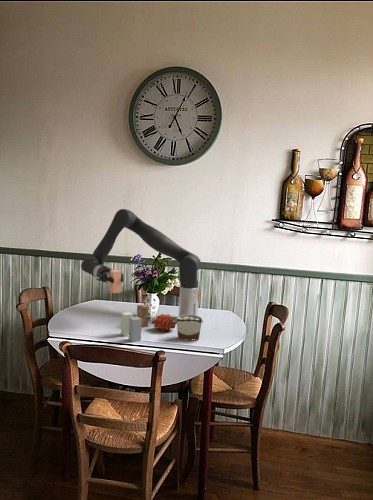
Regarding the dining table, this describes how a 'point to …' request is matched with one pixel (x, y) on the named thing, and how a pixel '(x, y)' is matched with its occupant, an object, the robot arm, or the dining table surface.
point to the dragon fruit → (164, 322)
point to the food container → (188, 326)
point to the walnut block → (143, 315)
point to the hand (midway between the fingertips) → (117, 280)
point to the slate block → (134, 329)
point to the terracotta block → (115, 281)
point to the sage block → (125, 323)
